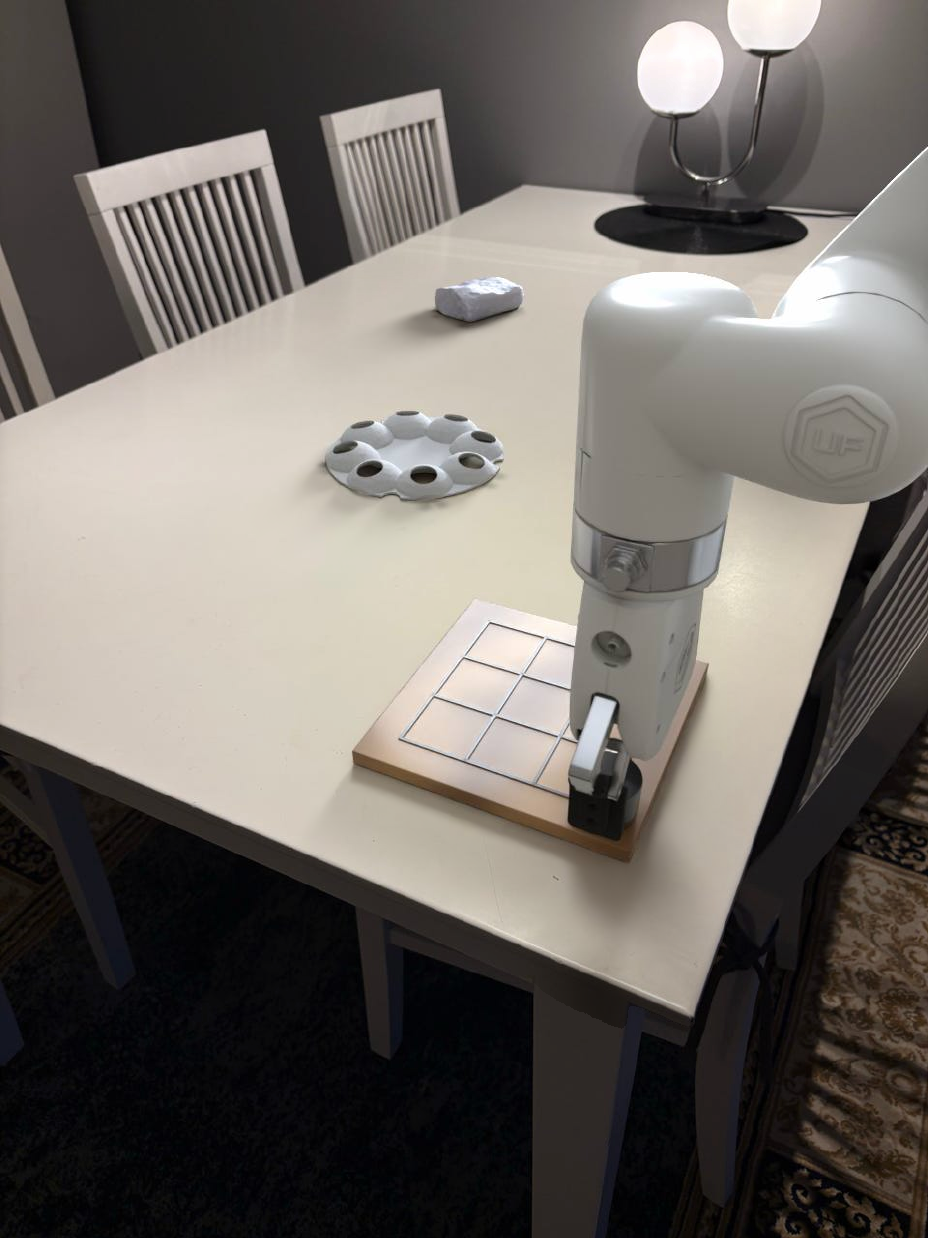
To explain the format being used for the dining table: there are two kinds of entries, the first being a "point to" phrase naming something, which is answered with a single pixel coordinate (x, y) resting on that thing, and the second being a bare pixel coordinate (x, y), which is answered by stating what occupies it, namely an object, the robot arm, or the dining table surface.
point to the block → (478, 298)
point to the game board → (504, 725)
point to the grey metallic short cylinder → (626, 784)
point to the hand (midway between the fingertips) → (620, 773)
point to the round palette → (414, 455)
